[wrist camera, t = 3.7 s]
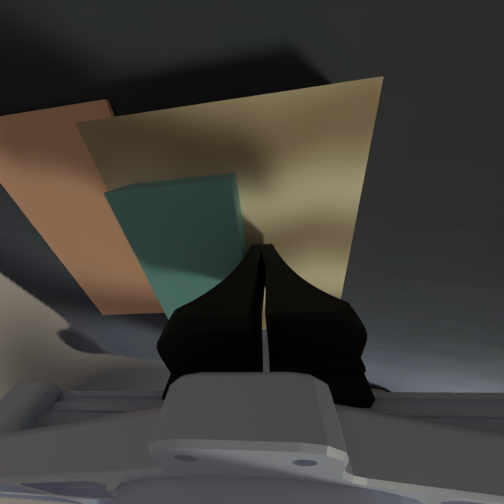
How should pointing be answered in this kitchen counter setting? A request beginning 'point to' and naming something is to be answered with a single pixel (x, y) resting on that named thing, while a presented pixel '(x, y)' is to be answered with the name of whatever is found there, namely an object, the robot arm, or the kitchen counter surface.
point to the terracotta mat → (73, 204)
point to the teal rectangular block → (182, 233)
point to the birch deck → (261, 164)
